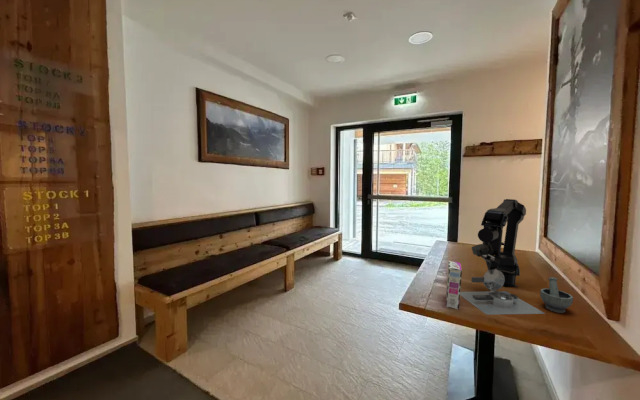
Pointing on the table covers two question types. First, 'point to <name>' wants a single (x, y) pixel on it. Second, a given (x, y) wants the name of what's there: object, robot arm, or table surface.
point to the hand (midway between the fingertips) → (490, 273)
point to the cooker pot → (498, 298)
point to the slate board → (490, 309)
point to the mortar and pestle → (555, 297)
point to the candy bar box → (453, 285)
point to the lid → (491, 279)
